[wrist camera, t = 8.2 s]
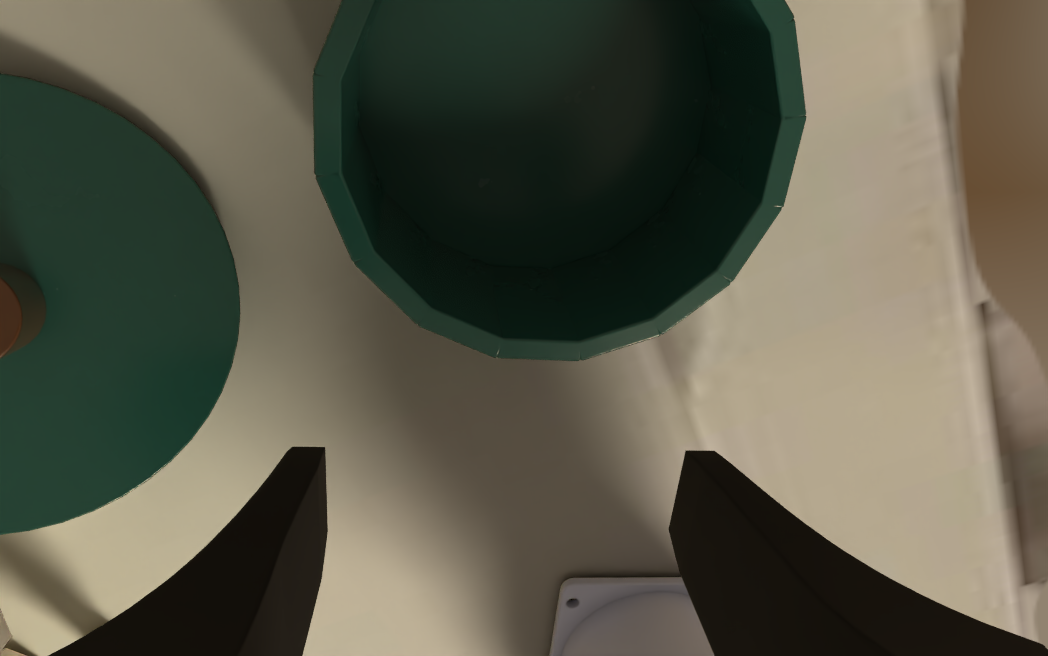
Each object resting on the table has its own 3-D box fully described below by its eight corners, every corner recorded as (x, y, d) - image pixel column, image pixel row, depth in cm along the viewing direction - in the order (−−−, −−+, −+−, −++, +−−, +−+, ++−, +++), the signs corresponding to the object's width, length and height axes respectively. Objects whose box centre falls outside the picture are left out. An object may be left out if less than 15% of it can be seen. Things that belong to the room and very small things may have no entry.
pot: (681, 286, 25) (742, 368, 20) (340, 268, 24) (317, 353, 19) (759, -92, 20) (864, -104, 16) (338, -146, 19) (307, -179, 14)
